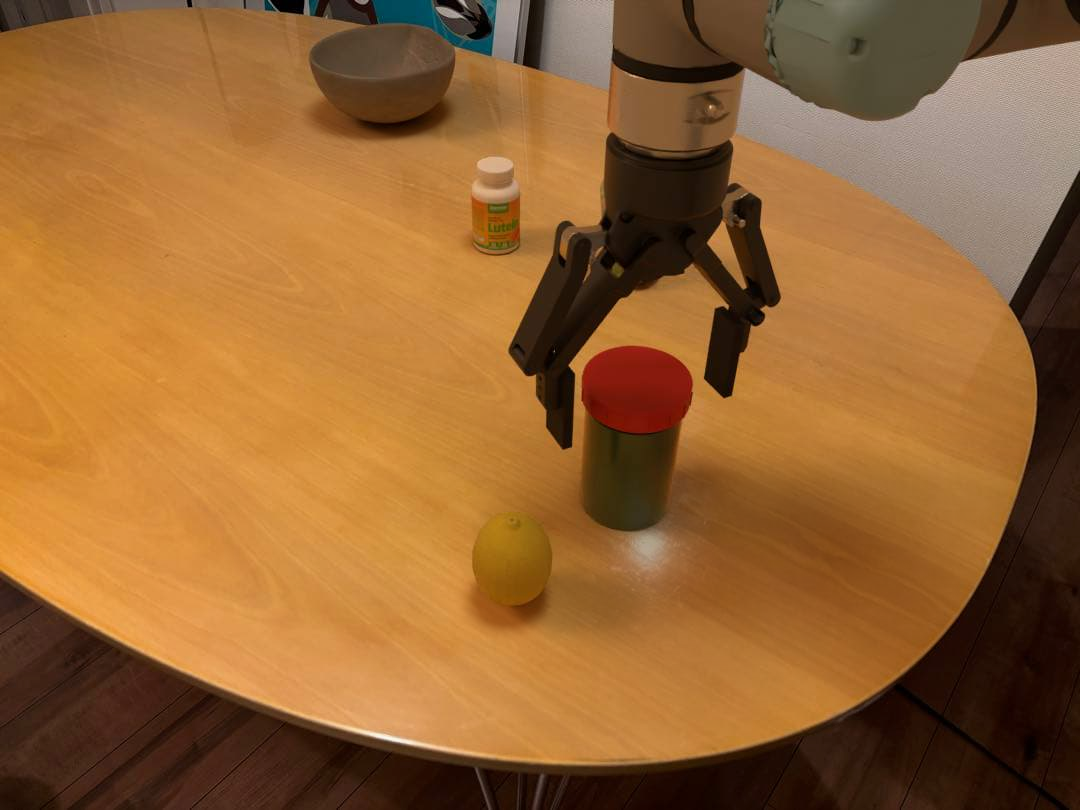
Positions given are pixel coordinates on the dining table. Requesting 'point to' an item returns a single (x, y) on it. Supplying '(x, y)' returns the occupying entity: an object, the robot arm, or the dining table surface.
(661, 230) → the robot arm
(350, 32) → the bowl
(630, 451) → the jar
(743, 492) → the dining table surface
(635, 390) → the cap
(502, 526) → the lemon
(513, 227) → the supplement bottle
